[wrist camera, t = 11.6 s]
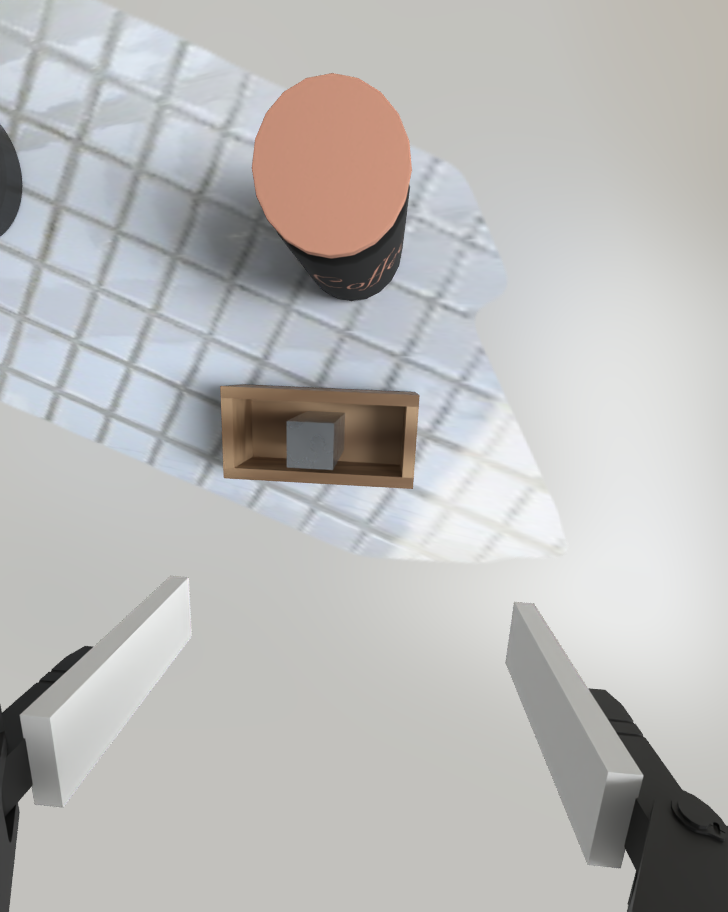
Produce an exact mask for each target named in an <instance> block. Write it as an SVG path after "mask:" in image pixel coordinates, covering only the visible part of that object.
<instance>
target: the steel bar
mask: <svg viewBox="0 0 728 912" xmlns="http://www.w3.org/2000/svg"><path fill="white" fill-rule="evenodd" d="M344 438H345V413H340V412H318V411H307V412H305V413H303V414H301V415H298V416H296V417H294V418H292V419H290V420H288V421H287V467H288V468H306V469H325V470H333V469H334V467H335V465H336V463H337V462H338V460H339V458H340V456H341V455H342V453H343V451H344Z"/></svg>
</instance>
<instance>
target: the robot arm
mask: <svg viewBox="0 0 728 912" xmlns="http://www.w3.org/2000/svg"><path fill="white" fill-rule="evenodd" d="M21 195H22V176H21V169H20V164H19V160H18V157H17V154H16V151H15V149H14V146H13V144H12V142H11V140H10V138H9V137H8V135H7V133H6V132H5V130H4V129H3V128H2V126H1V125H0V236H1V235H2V234H3V233H4V232H5V231H6V230H7V229H8V228H9V227H10V225H11V224H12V222H13V221H14V219H15V217H16V214H17V212H18V209H19V206H20V202H21ZM191 637H192V631H191V612H190V594H189V578H188V577H178V576H170V577H169V578H168V579H167V580H166V581H164V582H163V583H162V584H161V585H160V586H159V587H158V588H157V589H156V590H155V591H154V592H152V594H150V595H149V596H148V597H147V598H146V599H145V600H144V601H143V602H142V603H141V604H139V606H137V607H136V608H135V609H134V610H133V611H132V612H131V613H130V614H129V615H128V616H126V618H124V619H123V620H122V621H121V622H120V623H119V624H118V625H117V626H116V627H115V628H113V629H112V630H111V631H110V632H109V633H108V634H107V635H106V636H105V637H104V638H103V639H102V640H100V641H99V642H98V643H97V644H96V645H95V646H94V647H91V646H84V647H82V648H81V649H79V650H77V651H75V652H74V653H72V654H70V655H68V656H67V657H66V658H64V659H63V660H62V661H61V662H60V663H59V664H57V665H56V666H55V667H54V668H53V669H52V671H51V672H48V673H47V674H46V675H45V676H44V677H42V678H41V679H40V681H39V683H36V684H34V685H33V686H32V687H31V688H30V689H29V690H28V691H27V692H25V693H24V694H23V695H22V696H21V697H20V698H18V699H17V700H16V701H15V702H14V703H13V704H12V705H11V706H9V707H8V708H7V709H6V710H5V711H4V712H2V711H1V706H0V912H9V905H10V896H11V886H12V877H13V868H14V859H15V849H16V840H17V831H18V822H19V807H18V801H19V800H20V799H21V798H22V797H23V796H24V794H25V793H26V792H27V791H28V790H29V789H30V788H31V786H32V791H33V798H34V804H35V805H44V806H54V807H64V805H65V804H66V803H67V802H68V800H69V799H70V798H71V796H72V795H73V794H74V792H75V791H76V790H77V788H78V787H79V786H80V784H81V783H82V782H83V780H84V779H85V778H86V776H87V775H88V774H89V772H90V771H91V770H92V768H93V767H94V766H95V764H96V763H97V761H98V760H99V759H100V757H101V756H102V755H103V754H104V752H105V751H106V750H107V748H108V747H109V746H110V745H111V743H112V742H113V741H114V739H115V738H116V736H117V735H118V734H119V732H120V731H121V730H122V729H123V727H124V726H125V724H126V723H127V722H128V721H129V719H130V718H131V716H132V715H133V714H134V713H135V711H136V710H137V708H138V707H139V706H140V705H141V703H142V702H143V701H144V699H145V698H146V697H147V695H148V694H149V693H150V691H151V690H152V689H153V687H154V686H155V685H156V683H157V682H158V681H159V679H160V678H161V677H162V675H163V674H164V673H165V671H166V670H167V669H168V667H169V666H170V665H171V663H172V662H173V661H174V659H175V658H176V657H177V655H178V654H179V653H180V651H181V650H182V649H183V647H184V646H185V645H186V643H187V642H188V640H189V639H190V638H191ZM506 665H507V668H508V670H509V673H510V675H511V677H512V680H513V682H514V685H515V687H516V690H517V692H518V695H519V697H520V700H521V702H522V704H523V707H524V710H525V712H526V714H527V717H528V719H529V722H530V724H531V727H532V729H533V731H534V734H535V737H536V739H537V741H538V744H539V746H540V749H541V751H542V754H543V756H544V759H545V761H546V764H547V766H548V768H549V771H550V773H551V776H552V778H553V781H554V783H555V786H556V788H557V791H558V793H559V796H560V798H561V800H562V803H563V805H564V808H565V810H566V813H567V815H568V818H569V820H570V822H571V825H572V827H573V830H574V832H575V835H576V837H577V840H578V842H579V845H580V847H581V850H582V852H583V855H584V857H585V859H586V862H587V864H588V865H594V866H603V867H612V868H621V865H622V861H623V857H624V853H625V849H626V851H627V853H628V855H629V857H630V859H631V861H632V863H633V865H634V867H635V869H636V873H635V877H634V881H633V885H632V889H631V893H630V897H629V901H628V910H627V912H728V826H726V825H725V824H724V822H723V821H722V819H721V818H720V817H719V816H718V815H717V814H716V813H715V812H714V811H713V810H712V809H711V808H710V807H709V806H708V805H707V804H705V803H704V802H703V801H701V800H700V799H698V798H697V797H695V796H694V795H692V794H690V793H687V792H686V791H683V790H682V789H681V787H680V786H679V785H678V783H677V782H676V780H675V779H674V778H673V776H672V775H671V773H670V772H669V771H668V769H667V768H666V766H665V765H664V763H663V762H662V761H661V759H660V758H659V756H658V755H657V754H656V752H655V751H654V749H653V748H652V747H651V745H650V744H649V742H648V741H647V740H646V738H644V737H643V734H642V732H641V731H640V730H639V728H638V727H637V726H636V724H634V723H633V720H632V718H631V717H630V715H629V714H628V713H627V711H626V710H625V708H624V707H623V706H622V705H621V703H620V702H618V701H617V700H616V699H615V698H614V697H613V696H611V695H610V694H609V693H608V692H607V691H606V690H601V689H588V688H587V686H586V685H585V683H584V682H583V680H582V678H581V677H580V675H579V674H578V672H577V670H576V669H575V667H574V666H573V664H572V663H571V661H570V659H569V658H568V656H567V655H566V653H565V651H564V650H563V648H562V647H561V645H560V644H559V642H558V640H557V639H556V637H555V636H554V634H553V633H552V631H551V630H550V628H549V626H548V625H547V623H546V622H545V620H544V619H543V617H542V615H541V614H540V612H539V611H538V609H537V608H536V606H535V604H534V603H533V604H532V603H521V602H520V603H519V602H514V606H513V613H512V620H511V627H510V634H509V642H508V648H507V655H506Z"/></svg>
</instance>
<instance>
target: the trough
mask: <svg viewBox="0 0 728 912" xmlns="http://www.w3.org/2000/svg"><path fill="white" fill-rule="evenodd" d="M220 390H221V417H222V444H223V471H224V478H230V479H248V480H265V481H283V482H301V483H318V484H336V485H354V486H371V487H389V488H407V489H413V479H414V465H415V451H416V437H417V423H418V409H419V395H418V394H417V393H415V392H403V391H380V390H358V389H335V388H313V387H291V386H268V385H246V384H243V385H230V386H220ZM307 411H318V412H340V413H345V438H344V451H343V453H342V455H341V456H340V458H339V460H338V462H337V463H336V465H335V467H334V469H333V470H325V469H306V468H288V467H287V421H288V420H290V419H292V418H294V417H296V416H298V415H301V414H303V413H305V412H307Z"/></svg>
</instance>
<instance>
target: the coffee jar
mask: <svg viewBox="0 0 728 912" xmlns="http://www.w3.org/2000/svg"><path fill="white" fill-rule="evenodd" d="M411 171H412V167H411V155H410V144H409V139H408V137H407V134H406V132H405V129H404V127H403V124H402V121H401V119H400V116H399V114H398V113H397V111H396V110H395V109H394V108H393V106H392V105H391V104H390V103H389V102H388V100H387V99H386V98H385V97H384V95H383V94H382V93H381V92H380V91H378V90H377V89H375V88H373V87H372V86H370V85H369V84H367V83H365V82H364V81H362V80H360V79H359V78H355V77H350V76H344V75H339V74H334V73H331V74H325V75H320V76H315V77H310V78H306V79H304V80H303V81H301V82H299V83H298V84H296V85H294V86H293V87H291V88H289V89H288V90H286V91H284V92H283V93H282V95H281V96H280V97H279V98H278V99H277V101H276V102H275V103H274V104H273V105H272V107H271V108H270V109H269V110H268V111H267V113H266V114H265V117H264V119H263V122H262V124H261V126H260V129H259V131H258V134H257V136H256V138H255V145H254V154H253V162H252V172H253V178H254V185H255V191H256V196H257V199H258V201H259V203H260V205H261V207H262V209H263V211H264V214H265V216H266V218H267V220H268V221H269V222H270V224H271V225H272V226H273V227H274V228H275V229H276V231H277V233H278V235H279V236H280V237H281V238H282V240H283V241H284V242H285V244H286V245H287V246H288V247H289V249H290V250H291V251H292V253H293V254H294V255H295V256H296V258H297V259H298V260H299V261H300V263H301V264H302V265H303V267H304V268H305V269H306V270H307V272H308V273H309V274H310V276H311V277H312V278H313V279H314V280H315V282H316V283H317V284H318V285H319V286H320V287H321V288H322V289H323V290H324V291H325V292H327V293H329V294H331V295H332V296H334V297H336V298H339V299H344V300H349V301H354V300H361V299H367V298H369V297H371V296H373V295H375V294H377V293H379V292H380V291H381V290H382V289H383V288H384V287H385V286H386V285H387V284H388V283H389V282H390V281H391V280H392V278H393V276H394V275H395V273H396V271H397V269H398V267H399V264H400V258H401V253H402V248H403V240H404V231H405V223H406V215H407V207H408V199H409V191H410V186H409V182H410V177H411Z"/></svg>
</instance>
